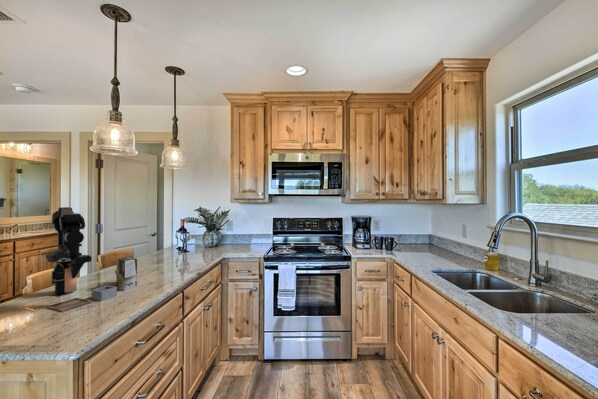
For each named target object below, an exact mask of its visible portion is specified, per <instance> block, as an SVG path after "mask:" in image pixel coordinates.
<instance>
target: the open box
mask: <svg viewBox="0 0 598 399" xmlns="http://www.w3.org/2000/svg"><path fill="white" fill-rule="evenodd" d="M117 292H118V288H117V286H113V285H103V286H99V287H97V288H94V289H91V300H92V301H93V300H94V301H99V302H103V301H106V300H110V299H112V298H115V297H117V296H118V293H117Z"/></svg>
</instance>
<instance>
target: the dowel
mask: <svg viewBox="0 0 598 399" xmlns="http://www.w3.org/2000/svg"><path fill="white" fill-rule="evenodd" d="M77 277H78V275H77V276H76V278H72V273H71V267H70V268H66V269H65V292H72V293H74V292H77V291H78V290H77V289H78V288H77V284H78V282H77V280H78V279H77Z"/></svg>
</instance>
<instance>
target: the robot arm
mask: <svg viewBox="0 0 598 399" xmlns="http://www.w3.org/2000/svg"><path fill="white" fill-rule="evenodd" d="M51 225H52V227H53V229H54V231H56V232H57V249H56V250H53V251H51V252H49V253H47V254H45V255H44V257H45V258H46V261H47V262H48V263H53V264H54V263H55V264H54V266H53V270H52V271H51V274H50V283H51V285H53V284H54V292H52V293H51V295H52V296H56V297H61V296H64V295H68V294H72V293H73V292H65V269H66V268H70V267H71V273H72V278H76V276H77V277H78V274H79V272H80V271H81V269H82V268H83V266H84V265H85V263H91V262H92V256H91V255H90V254H83V253H82V252H80V247H82V246H83V244H82V243H83V241H84V238H85V237H84V236H85V235H84V234H83V233H82V232H81V230H85V228H86V222H85V218H84V217H83V216H82V213H75V212H74V211H73V207H71V206H70V207H69V206H68V207H67V206H66V207H63V206H62V207H61V206H60V207H58V208H57V210H56V211H54V212H53V213H52V215H51Z"/></svg>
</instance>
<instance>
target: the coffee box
mask: <svg viewBox="0 0 598 399" xmlns="http://www.w3.org/2000/svg"><path fill="white" fill-rule="evenodd" d="M116 269H117V278H116V287H117V290H118V289H119V290H121V291H123V292H127V291H131V290H134V289H138V258H136V257H131V256H128V257H122V258H117V259H116Z"/></svg>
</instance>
